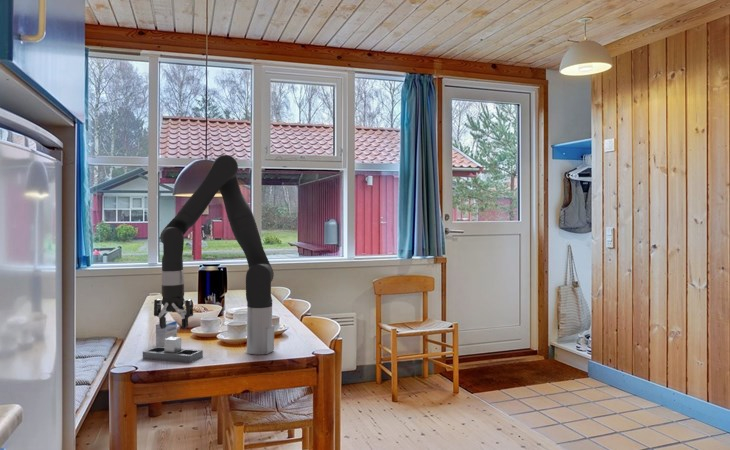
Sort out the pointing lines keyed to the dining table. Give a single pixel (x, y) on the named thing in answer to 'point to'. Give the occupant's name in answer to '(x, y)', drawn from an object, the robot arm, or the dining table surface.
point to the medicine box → (165, 332)
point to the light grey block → (172, 345)
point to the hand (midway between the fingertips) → (173, 328)
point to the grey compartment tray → (173, 355)
